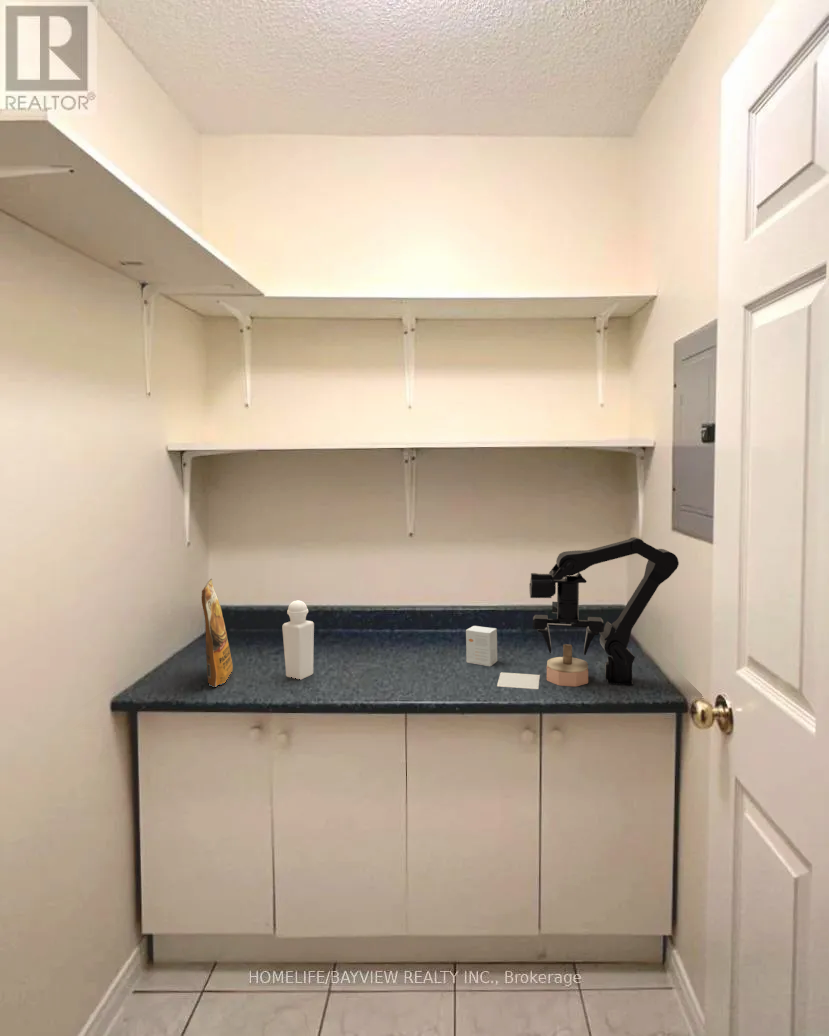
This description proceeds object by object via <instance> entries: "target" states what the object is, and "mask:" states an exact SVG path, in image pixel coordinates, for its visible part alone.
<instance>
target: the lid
mask: <svg viewBox="0 0 829 1036" xmlns="http://www.w3.org/2000/svg"><path fill="white" fill-rule="evenodd" d="M546 663H547V664H546V667H547V666H548V667H549V668H550V669H552V670H555V671H559V672H565V673H578V672H583V671H586V670H587V669H588V670H589V663H588V662H587V661H586V660H585V659H581V658H576V657H573V645H572V644H569V643H568V644H567V643H565V644H563V645H562V656H557V657H551V658H549V659H548V660H547V661H546Z"/></svg>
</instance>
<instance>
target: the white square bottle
mask: <svg viewBox="0 0 829 1036" xmlns="http://www.w3.org/2000/svg"><path fill="white" fill-rule="evenodd" d="M308 613H309V609H308V606H307V604H306V603H305V602H304V601H303V600H299V599H298V600H293V601H291V602H290V604H289V605H288V607H287V612H286V614H287V615H288V616H289V620H290V621H288V622H284V623H283V624H282V627H281V628H282V639H283V653H284V665H285V677H286V678H291V677H292V678H291V679H295V678H296V679H297V680H299V679H300V681H301V680H303V679H305V678H308V677H310V676H312V675H313V674H314V647H315V646H314V641H315V640H314V639H315V638H314V637H315V636H314V635H315V634H314V633H315V623H314V622H313V621H312V620H307V615H308ZM296 679H295V680H296Z"/></svg>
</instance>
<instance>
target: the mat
mask: <svg viewBox="0 0 829 1036" xmlns="http://www.w3.org/2000/svg"><path fill="white" fill-rule="evenodd" d="M540 678H541V674H530V673H519V672H518V673H514V672H500V673H499V677H498V680H497V685H496V687H499V688H500V687H502V688H513V689H516V688H517V689H527V690H539V686H540Z"/></svg>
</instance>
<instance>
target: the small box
mask: <svg viewBox="0 0 829 1036" xmlns="http://www.w3.org/2000/svg"><path fill="white" fill-rule="evenodd" d="M465 644H466V645H465V648H466V649H465V650H466V652H465V654H466V663H468V664H475V665H481V666H485V667H492V666H493V665H494V664H496V663H497V662H498V629H497V628H496V627H487V626H479V625H472V626H471V627H469V628H467V629H466V630H465Z"/></svg>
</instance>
